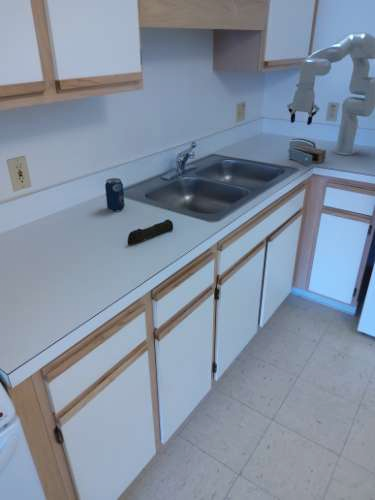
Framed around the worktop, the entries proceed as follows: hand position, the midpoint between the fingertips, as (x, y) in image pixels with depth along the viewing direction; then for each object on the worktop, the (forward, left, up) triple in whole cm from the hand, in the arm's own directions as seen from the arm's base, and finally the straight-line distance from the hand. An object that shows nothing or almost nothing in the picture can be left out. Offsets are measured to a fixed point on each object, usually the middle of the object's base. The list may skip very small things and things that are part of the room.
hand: (300, 123), depth 201 cm
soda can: (+102, -32, -22) cm, 109 cm away
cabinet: (-15, +1, -22) cm, 27 cm away
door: (-6, -1, -21) cm, 22 cm away
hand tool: (+112, -4, -23) cm, 114 cm away
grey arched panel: (-28, -8, -23) cm, 37 cm away
